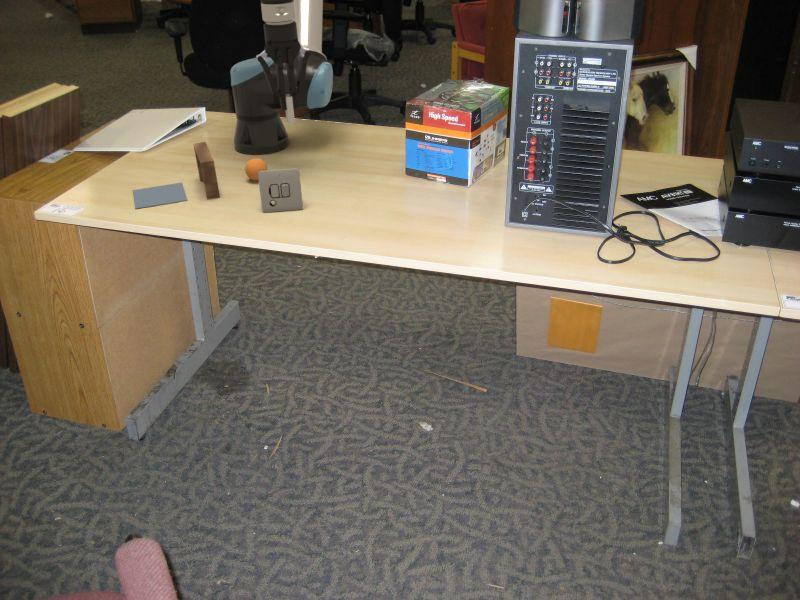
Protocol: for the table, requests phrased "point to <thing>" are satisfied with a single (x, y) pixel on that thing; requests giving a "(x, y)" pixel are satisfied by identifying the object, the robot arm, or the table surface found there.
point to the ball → (255, 168)
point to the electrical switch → (280, 190)
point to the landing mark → (159, 195)
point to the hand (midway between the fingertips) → (290, 122)
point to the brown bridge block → (206, 170)
